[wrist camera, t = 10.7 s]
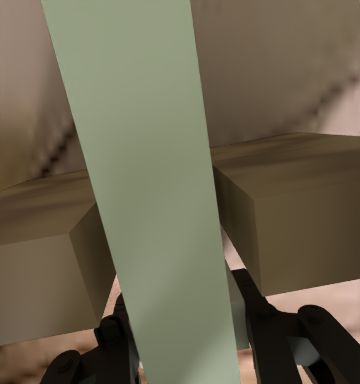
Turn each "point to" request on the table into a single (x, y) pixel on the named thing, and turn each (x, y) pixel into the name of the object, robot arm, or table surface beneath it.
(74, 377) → the robot arm
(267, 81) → the table surface
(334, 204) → the slotted board
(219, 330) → the sage plate
